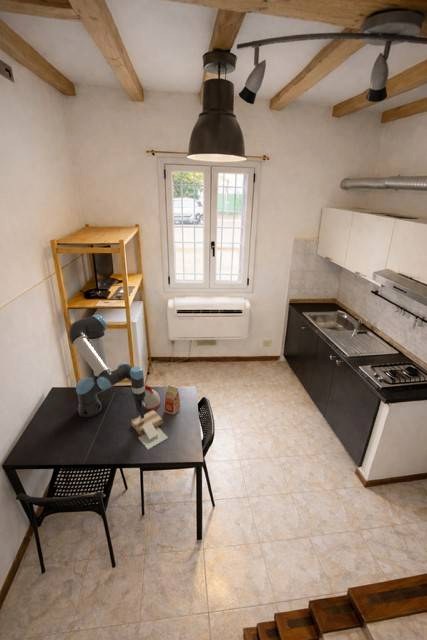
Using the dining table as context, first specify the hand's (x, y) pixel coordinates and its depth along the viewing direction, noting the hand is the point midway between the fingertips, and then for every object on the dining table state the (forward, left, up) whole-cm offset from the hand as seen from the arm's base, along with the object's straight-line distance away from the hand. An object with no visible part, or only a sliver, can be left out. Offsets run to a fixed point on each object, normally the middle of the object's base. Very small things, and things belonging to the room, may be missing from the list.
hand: (142, 420), depth 198 cm
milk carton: (-2, +24, -5) cm, 25 cm away
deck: (0, +3, -5) cm, 6 cm away
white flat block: (+9, 0, -2) cm, 10 cm away
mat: (+13, 0, -5) cm, 14 cm away
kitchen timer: (-17, +15, -5) cm, 23 cm away
